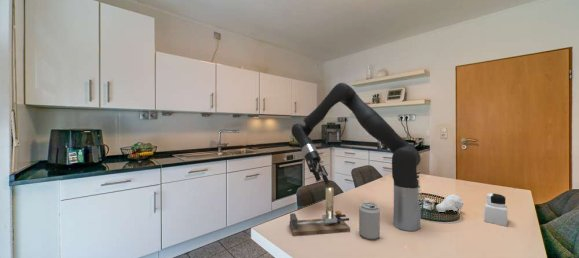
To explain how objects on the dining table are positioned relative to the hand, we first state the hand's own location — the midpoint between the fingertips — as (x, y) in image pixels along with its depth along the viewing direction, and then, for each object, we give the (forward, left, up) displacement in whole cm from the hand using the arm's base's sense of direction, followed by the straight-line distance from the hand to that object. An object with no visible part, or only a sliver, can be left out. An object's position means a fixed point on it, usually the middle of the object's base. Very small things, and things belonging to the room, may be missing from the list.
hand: (323, 182), depth 105 cm
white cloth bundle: (-60, +7, -16) cm, 63 cm away
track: (+6, +13, -15) cm, 21 cm away
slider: (-1, +13, -13) cm, 18 cm away
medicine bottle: (-72, +19, -16) cm, 77 cm away
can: (-11, +22, -16) cm, 30 cm away
